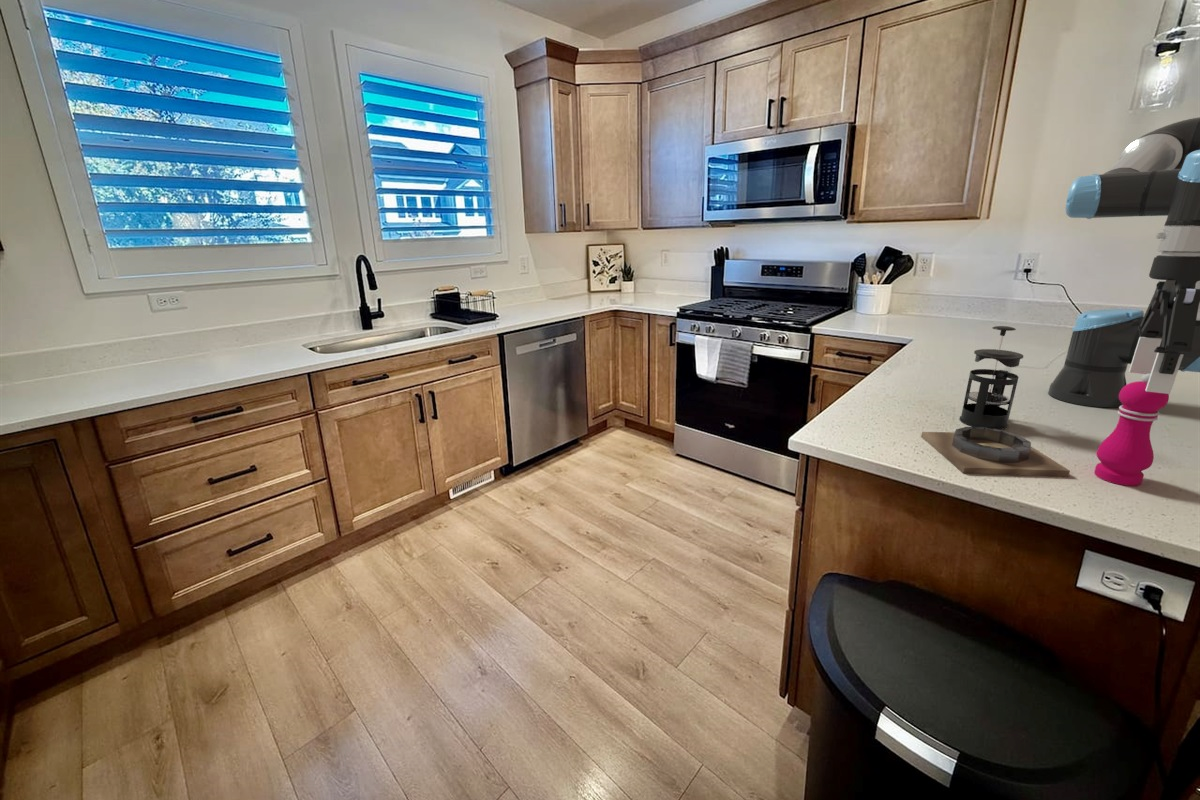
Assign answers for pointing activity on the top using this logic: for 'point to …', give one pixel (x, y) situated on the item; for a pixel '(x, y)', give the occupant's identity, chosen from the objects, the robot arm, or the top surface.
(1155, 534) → the top surface
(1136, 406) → the pepper mill
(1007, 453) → the iron collar
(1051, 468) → the collar plate
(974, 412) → the french press
